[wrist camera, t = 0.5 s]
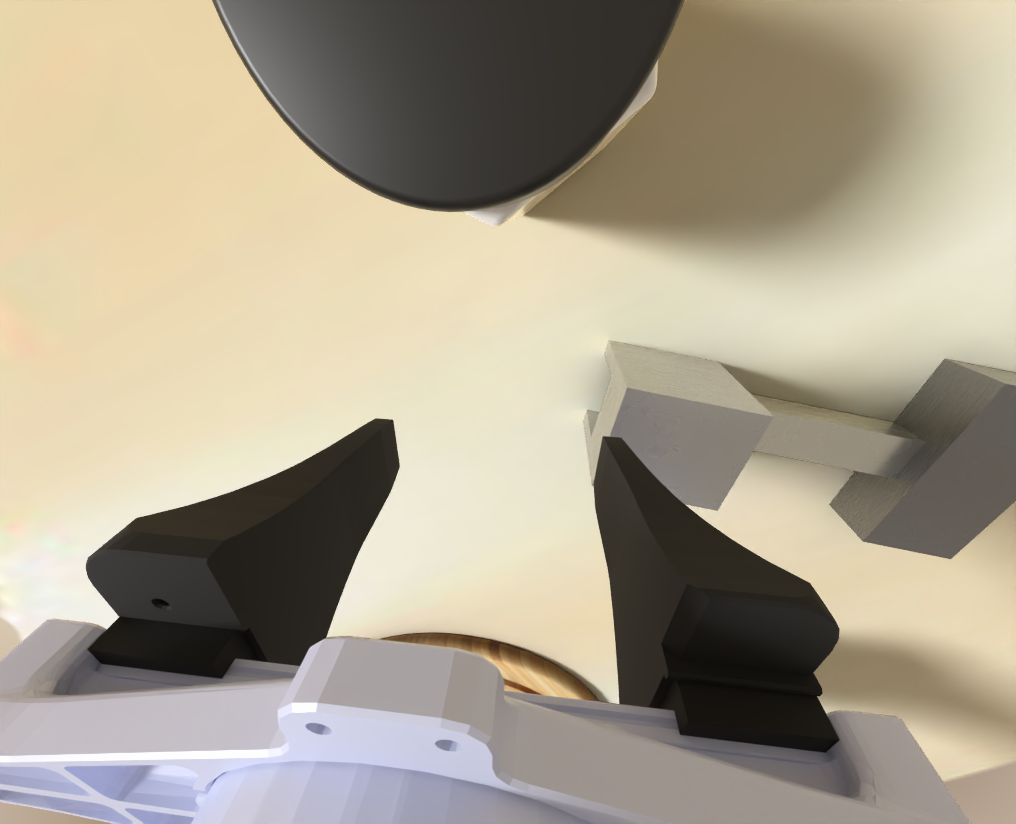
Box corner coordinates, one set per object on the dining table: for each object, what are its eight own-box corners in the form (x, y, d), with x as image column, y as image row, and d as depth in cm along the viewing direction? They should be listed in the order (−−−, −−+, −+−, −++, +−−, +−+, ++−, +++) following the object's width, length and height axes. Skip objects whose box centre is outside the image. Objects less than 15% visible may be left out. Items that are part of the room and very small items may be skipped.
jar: (660, 24, 14) (937, -435, 4) (562, 239, 18) (574, 289, 8) (441, -101, 14) (61, -1112, 3) (387, 154, 17) (139, 84, 7)
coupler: (907, 520, 24) (950, 559, 21) (697, 478, 24) (714, 511, 22) (1043, 378, 19) (1120, 406, 17) (778, 326, 19) (813, 345, 17)
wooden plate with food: (480, 792, 54) (471, 882, 47) (279, 699, 46) (229, 791, 38) (668, 726, 41) (695, 836, 34) (436, 579, 33) (405, 684, 26)
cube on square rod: (680, 440, 23) (717, 510, 18) (583, 421, 23) (591, 485, 18) (718, 361, 21) (774, 416, 15) (608, 340, 21) (627, 387, 15)
